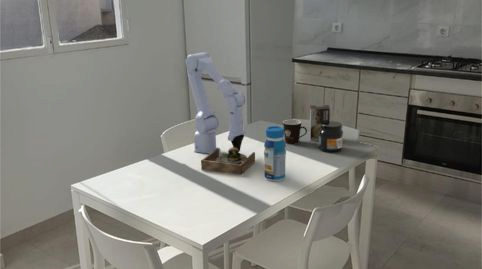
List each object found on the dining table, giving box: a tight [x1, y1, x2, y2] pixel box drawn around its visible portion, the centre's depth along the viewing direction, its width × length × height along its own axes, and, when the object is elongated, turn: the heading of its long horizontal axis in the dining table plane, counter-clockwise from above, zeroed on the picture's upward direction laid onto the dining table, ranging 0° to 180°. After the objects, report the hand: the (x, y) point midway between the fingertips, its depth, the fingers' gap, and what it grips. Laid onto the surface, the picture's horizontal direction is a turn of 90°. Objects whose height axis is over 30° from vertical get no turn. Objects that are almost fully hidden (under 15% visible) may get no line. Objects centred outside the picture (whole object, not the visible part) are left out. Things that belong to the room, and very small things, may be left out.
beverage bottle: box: [263, 125, 287, 182], centre depth 175 cm, size 8×8×20 cm
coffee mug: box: [282, 119, 308, 145], centre depth 215 cm, size 12×9×10 cm
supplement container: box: [318, 120, 344, 153], centre depth 206 cm, size 10×10×12 cm
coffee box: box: [309, 104, 331, 142], centre depth 220 cm, size 9×6×16 cm
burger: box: [218, 146, 248, 164], centre depth 195 cm, size 12×12×8 cm
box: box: [200, 148, 256, 176], centre depth 191 cm, size 18×16×4 cm
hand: (237, 151), depth 199 cm, fingers closed
